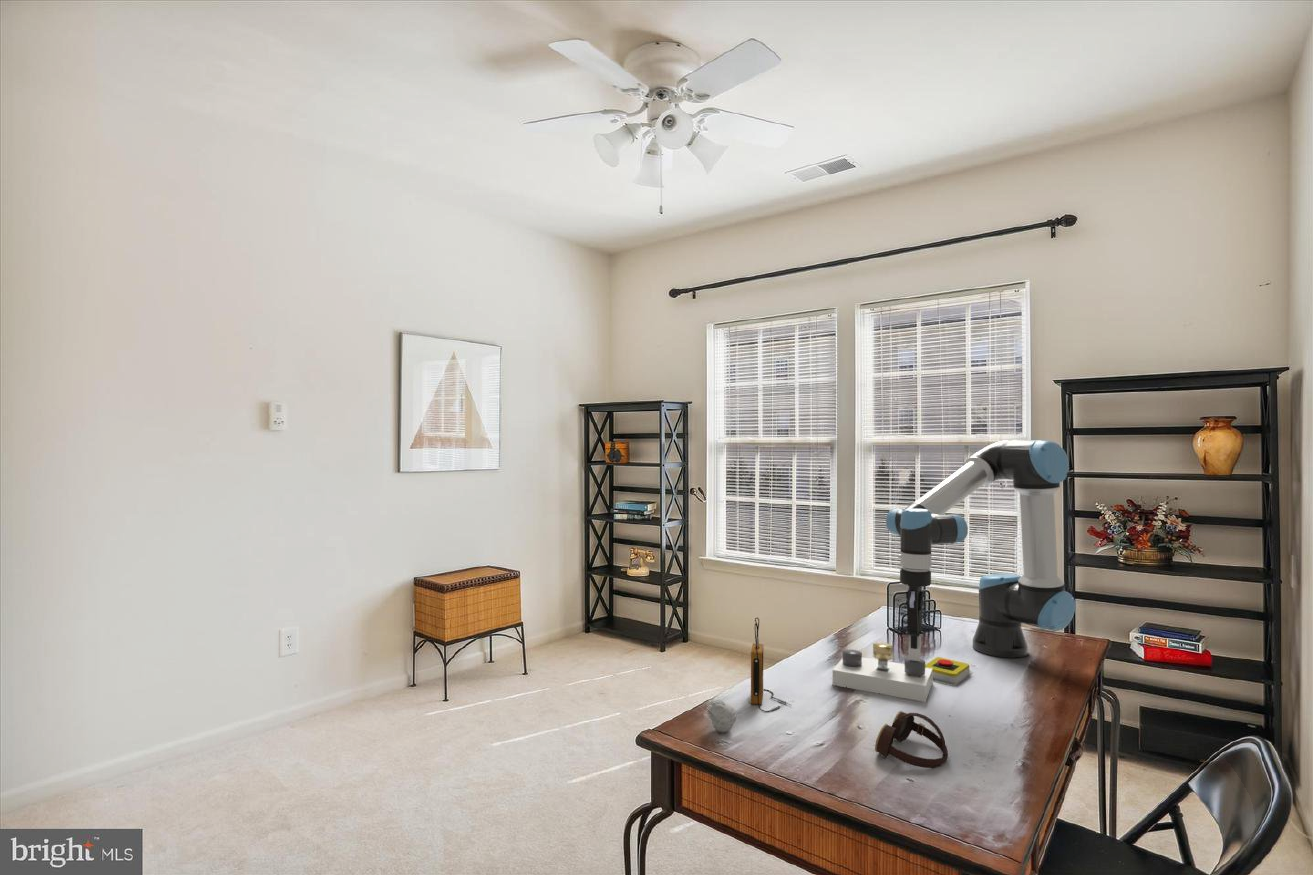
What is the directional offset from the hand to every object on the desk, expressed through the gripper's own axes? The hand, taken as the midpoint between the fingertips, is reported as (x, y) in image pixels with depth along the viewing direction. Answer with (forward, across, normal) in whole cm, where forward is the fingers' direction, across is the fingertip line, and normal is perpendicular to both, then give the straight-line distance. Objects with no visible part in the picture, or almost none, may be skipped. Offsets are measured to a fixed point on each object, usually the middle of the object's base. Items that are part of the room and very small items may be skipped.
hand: (914, 659), depth 177 cm
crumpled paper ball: (+8, +47, -34) cm, 58 cm away
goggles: (+9, +37, +5) cm, 38 cm away
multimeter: (+8, +25, -30) cm, 40 cm away
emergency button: (+9, -16, +6) cm, 19 cm away
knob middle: (+5, 0, -8) cm, 9 cm away
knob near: (+8, 0, 0) cm, 8 cm away
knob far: (+8, 0, -16) cm, 18 cm away
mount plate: (+8, 0, -8) cm, 11 cm away
